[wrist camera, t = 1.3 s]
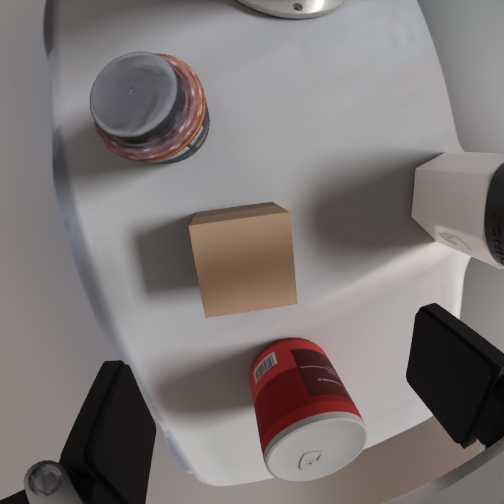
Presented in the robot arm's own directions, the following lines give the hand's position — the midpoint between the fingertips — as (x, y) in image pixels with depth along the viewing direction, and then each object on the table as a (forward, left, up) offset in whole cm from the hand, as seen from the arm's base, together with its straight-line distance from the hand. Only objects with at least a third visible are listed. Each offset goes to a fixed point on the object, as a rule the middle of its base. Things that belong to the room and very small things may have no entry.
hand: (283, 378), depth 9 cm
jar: (-2, +20, -17) cm, 26 cm away
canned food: (+13, +3, -17) cm, 21 cm away
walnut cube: (0, 0, -16) cm, 16 cm away
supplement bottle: (-10, -4, -17) cm, 20 cm away
